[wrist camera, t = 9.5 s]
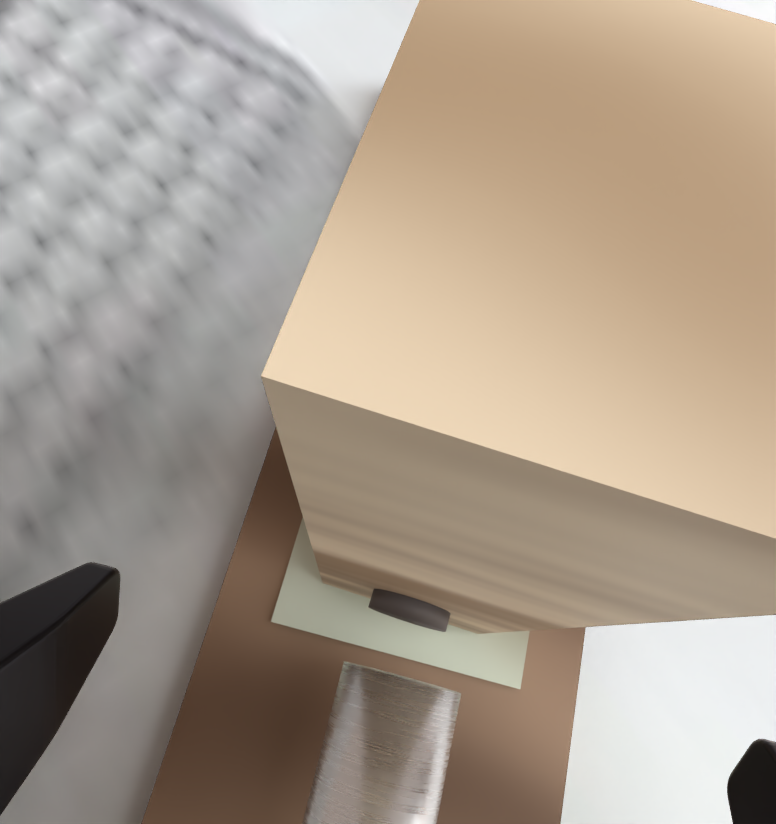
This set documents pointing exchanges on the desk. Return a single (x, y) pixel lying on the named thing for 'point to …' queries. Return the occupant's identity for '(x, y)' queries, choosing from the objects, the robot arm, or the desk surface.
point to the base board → (318, 679)
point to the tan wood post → (547, 324)
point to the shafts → (383, 750)
